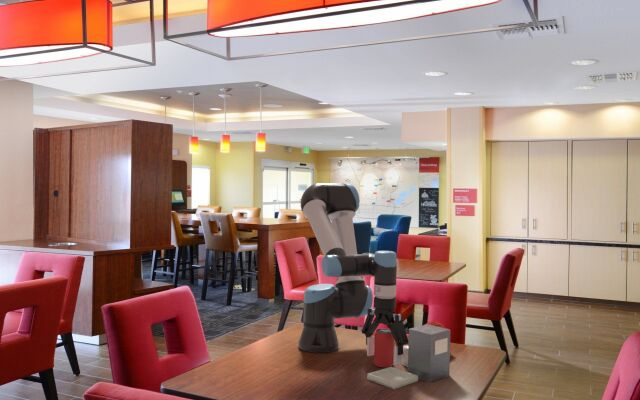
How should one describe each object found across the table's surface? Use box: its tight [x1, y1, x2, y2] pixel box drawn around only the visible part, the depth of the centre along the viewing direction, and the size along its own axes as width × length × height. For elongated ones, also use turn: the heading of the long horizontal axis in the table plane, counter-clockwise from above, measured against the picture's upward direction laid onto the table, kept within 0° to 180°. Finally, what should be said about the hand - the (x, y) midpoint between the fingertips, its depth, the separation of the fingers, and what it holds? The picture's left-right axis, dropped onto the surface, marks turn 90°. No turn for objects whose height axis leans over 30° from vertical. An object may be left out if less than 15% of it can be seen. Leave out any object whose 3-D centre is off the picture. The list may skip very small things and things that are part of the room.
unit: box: [407, 324, 451, 383], centre depth 183 cm, size 10×10×15 cm
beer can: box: [373, 328, 395, 369], centre depth 192 cm, size 7×7×12 cm
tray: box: [366, 366, 419, 390], centre depth 177 cm, size 11×11×2 cm
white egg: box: [401, 344, 408, 368], centre depth 193 cm, size 5×5×6 cm
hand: (383, 359), depth 192 cm, fingers open, 12 cm apart
